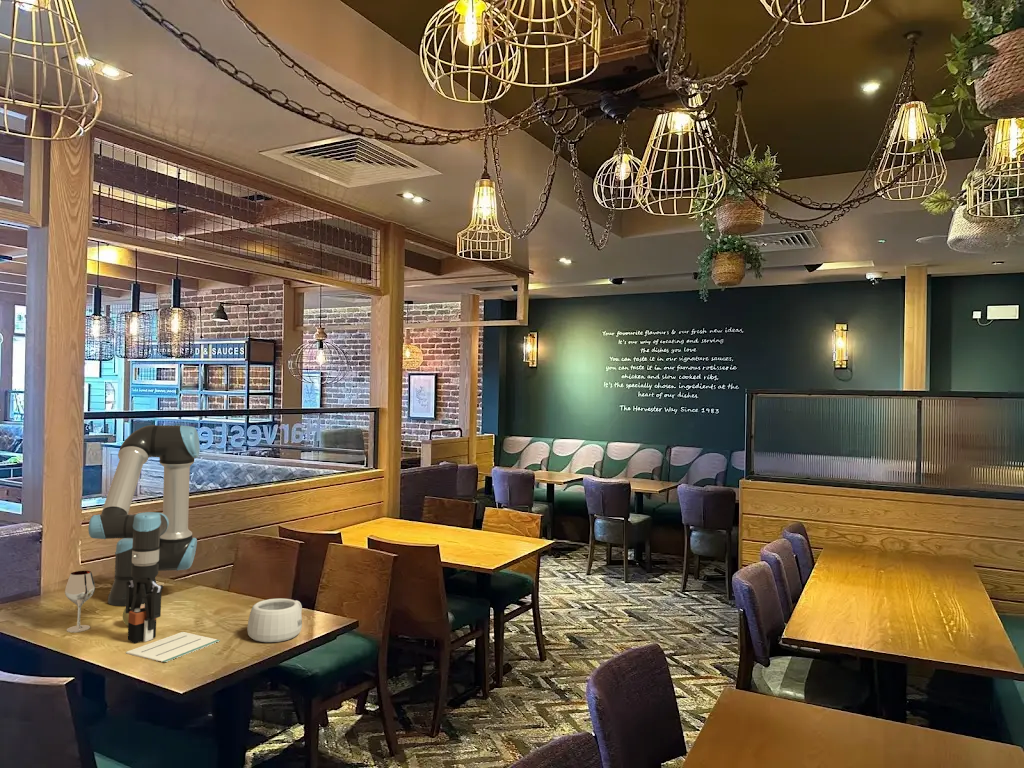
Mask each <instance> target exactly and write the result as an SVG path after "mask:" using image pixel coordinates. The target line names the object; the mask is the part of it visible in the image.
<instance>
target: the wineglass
mask: <svg viewBox="0 0 1024 768" xmlns="http://www.w3.org/2000/svg"><path fill="white" fill-rule="evenodd" d="M95 591H96V585H95V580H94V576H93V572H92V570H76V571H72V572H71V573H69V577H68V579H67V583H66V586H65V591H64V594H65V597H66V598H67V600H69V601H70V602H72V603H74V604H75V605H76V607H77V620H76V625H73V626H70V627H68V628H66V632H67V633H82V632H85V631H88V630H90V629H91V626H90V625H88V624H81V613H82V606H83V605H84V604H85V603H86V602H87V601H88V600H89V599H90V598H91V597H93V596H94V593H95Z"/></svg>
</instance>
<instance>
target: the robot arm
mask: <svg viewBox="0 0 1024 768" xmlns="http://www.w3.org/2000/svg"><path fill="white" fill-rule="evenodd" d="M200 447H201V446H200V437H199V433H198V431H197V429H196V427H193V426H191V425H188V426H187V425H168V424H167V425H159V424H158V425H156V424H151V425H145V426H142V427H140V428H137V430H135V431H133V432H132V433H131V434H129V436H127V437H126V439H125V440H124V441H123V442H122V444H121V446H120V448H119V450H118V453H117V457H118V459H119V461H118V463H117V466H116V470H115V472H114V475H113V477H112V481H111V484H110V486H109V489H108V493H107V496H106V498H105V500H104V501H105V502H104V504H103V508H102V510H101V513H100V514H93V515H92V516H91V517H90V519H89V521H88V529H87V530H88V535H89V537H90V538H91V539H97V540H98V539H99V540H100V539H101V540H106V539H107V540H108V539H109V540H110V539H112V540H113V539H114V540H115V539H119V540H118V541H117V542H116V546H115V547H116V548H115V552H114V554H115V555H114V556H115V557H114V558H115V559H114V581H113V583H112V586H111V589H110V592H109V594H108V596H107V603H108V605H111V606H115V607H116V606H119V607H120V606H121V607H125V608H126V610H125V609H124V610H125V612H126V613H129V612H130V611H132V610H135V609H136V608H140V607H141V604H144V605H145V609H146V617H147V619H145V620H144V641H143V642H144V643H145V642H148V641H152V640H153V639H154V638H153V629H154V626H155V625H154V624H155V618H156V619H158V618H160V617H161V614H162V613H161V609H162V592H163V588H164V586H163V585H162V584H160V585H158V584H157V580H156V577H157V576H158V575H159V571H160V572H162V571H165V572H166V571H186V570H189V569H190V568H191V567H192V565H193V562H194V560H195V555H196V553H197V552H196V550H197V545H198V539H197V538H196V537H193V531H191V530H190V529H189V507H190V506H189V504H190V473H191V472H190V471H191V470H190V469H191V466H192V465H193V464H194V463H195V459H196V458H199V456H200V449H201V448H200ZM150 458H159V464H160V465H161V466H162V467H163V494H162V495H163V498H162V499H163V500H162V501H163V503H162V512H155V511H154V512H153V511H152V512H151V511H147V512H140V513H136V514H129V512H130V509H131V505H132V501H133V498H134V496H135V492H136V488H137V486H138V482H139V480H140V479H139V478H140V476H141V472H142V469H143V466H144V464H146V463H147V462H148V460H149V459H150Z"/></svg>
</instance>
